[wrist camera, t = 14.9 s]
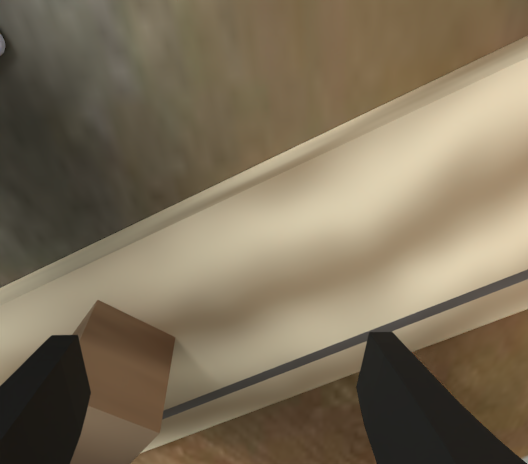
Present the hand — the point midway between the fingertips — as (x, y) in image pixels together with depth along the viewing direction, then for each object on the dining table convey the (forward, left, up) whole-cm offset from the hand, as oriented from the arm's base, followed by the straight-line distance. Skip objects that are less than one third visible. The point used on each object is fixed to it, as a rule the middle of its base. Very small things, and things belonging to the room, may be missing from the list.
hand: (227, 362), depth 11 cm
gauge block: (+4, -9, -7) cm, 12 cm away
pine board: (+5, 0, -9) cm, 11 cm away
